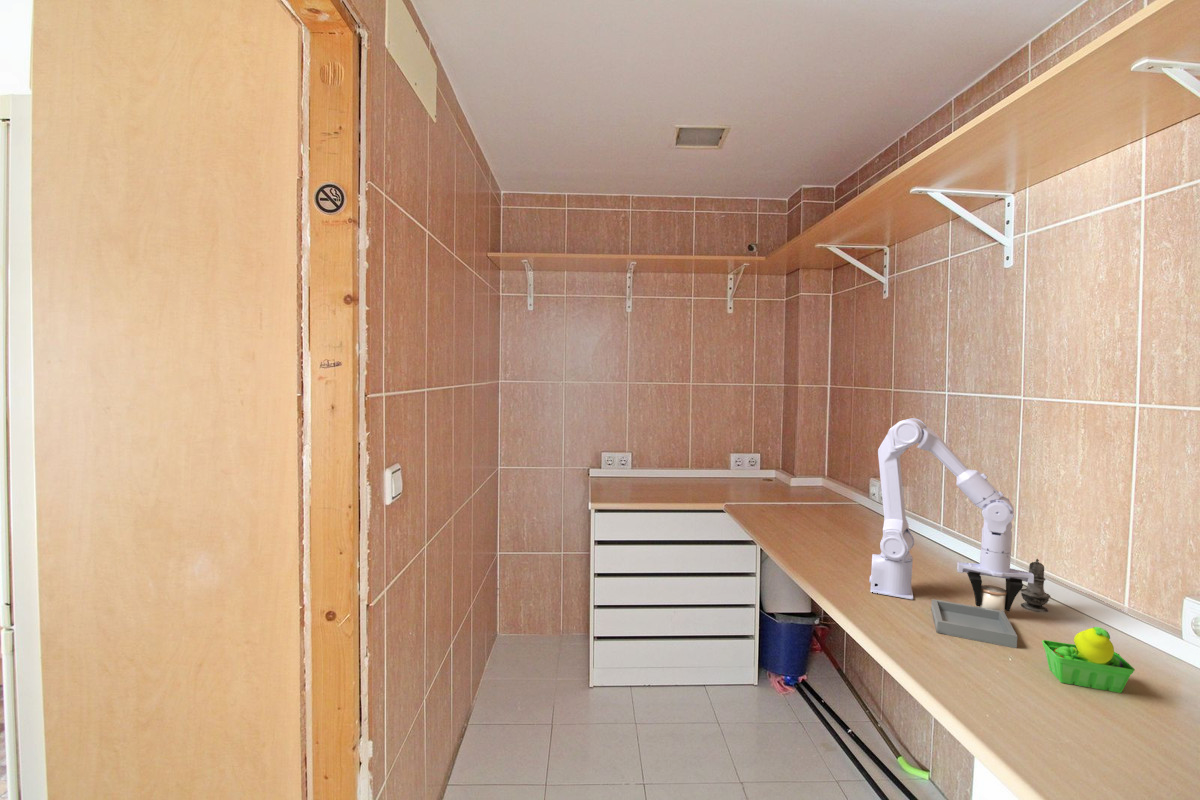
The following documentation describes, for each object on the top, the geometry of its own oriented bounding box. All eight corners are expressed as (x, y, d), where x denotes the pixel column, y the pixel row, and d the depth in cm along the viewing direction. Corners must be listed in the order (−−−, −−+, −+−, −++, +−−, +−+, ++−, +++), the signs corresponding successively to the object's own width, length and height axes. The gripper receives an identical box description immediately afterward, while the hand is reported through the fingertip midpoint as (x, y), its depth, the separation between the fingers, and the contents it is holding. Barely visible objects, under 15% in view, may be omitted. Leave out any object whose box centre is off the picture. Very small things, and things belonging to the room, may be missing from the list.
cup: (980, 616, 132) (981, 590, 132) (976, 608, 136) (978, 583, 136) (1007, 620, 130) (1009, 594, 129) (1003, 612, 134) (1004, 587, 134)
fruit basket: (1112, 677, 106) (1116, 617, 105) (1139, 702, 97) (1144, 637, 97) (1038, 665, 110) (1042, 607, 109) (1058, 688, 101) (1062, 626, 101)
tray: (936, 632, 122) (937, 621, 122) (931, 609, 135) (931, 598, 135) (1016, 648, 116) (1017, 636, 116) (1003, 622, 129) (1003, 611, 129)
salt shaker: (1055, 614, 134) (1058, 563, 134) (1026, 611, 135) (1030, 561, 135) (1041, 604, 140) (1044, 556, 139) (1014, 601, 141) (1017, 553, 141)
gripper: (961, 549, 132) (957, 607, 132) (1038, 559, 126) (1034, 620, 126) (957, 541, 138) (954, 596, 139) (1031, 551, 132) (1027, 609, 133)
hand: (992, 607), depth 133 cm, fingers closed on cup, 5 cm apart
